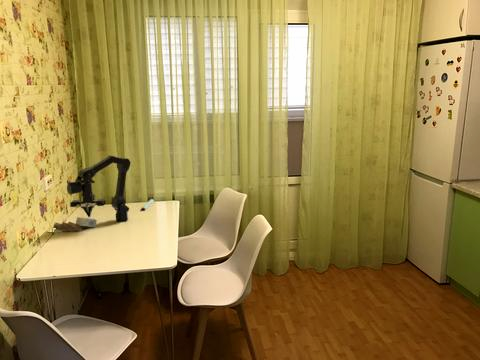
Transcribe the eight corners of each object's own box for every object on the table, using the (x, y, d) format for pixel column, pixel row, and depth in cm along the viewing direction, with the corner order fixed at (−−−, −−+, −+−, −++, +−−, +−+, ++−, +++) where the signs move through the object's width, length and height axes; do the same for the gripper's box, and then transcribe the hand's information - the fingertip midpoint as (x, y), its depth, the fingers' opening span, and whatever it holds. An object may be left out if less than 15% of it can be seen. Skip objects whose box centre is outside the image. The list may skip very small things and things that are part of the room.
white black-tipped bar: (145, 212, 268) (145, 207, 267) (136, 212, 268) (135, 207, 267) (154, 203, 290) (154, 199, 289) (145, 203, 290) (145, 199, 289)
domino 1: (82, 226, 233) (69, 221, 231) (81, 229, 229) (67, 224, 226) (81, 228, 234) (68, 223, 231) (79, 231, 229) (66, 226, 227)
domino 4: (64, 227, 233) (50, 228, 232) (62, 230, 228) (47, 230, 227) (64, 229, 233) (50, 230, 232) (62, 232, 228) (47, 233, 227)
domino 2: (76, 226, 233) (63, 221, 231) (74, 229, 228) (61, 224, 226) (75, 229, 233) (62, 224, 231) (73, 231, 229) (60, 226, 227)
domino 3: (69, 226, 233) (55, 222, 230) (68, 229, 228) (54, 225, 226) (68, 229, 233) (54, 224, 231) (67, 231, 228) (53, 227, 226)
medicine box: (86, 218, 230) (76, 216, 234) (85, 226, 230) (75, 224, 234) (97, 219, 237) (87, 217, 241) (95, 227, 237) (85, 225, 241)
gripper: (106, 187, 236) (108, 212, 240) (74, 188, 235) (76, 213, 238) (102, 191, 226) (104, 218, 229) (68, 193, 224) (71, 219, 227)
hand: (89, 217), depth 231 cm, fingers closed
